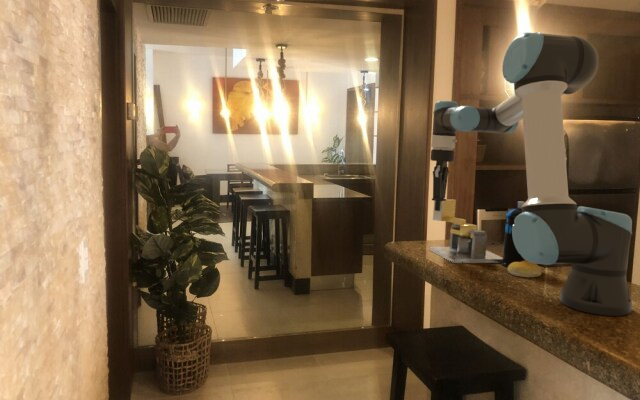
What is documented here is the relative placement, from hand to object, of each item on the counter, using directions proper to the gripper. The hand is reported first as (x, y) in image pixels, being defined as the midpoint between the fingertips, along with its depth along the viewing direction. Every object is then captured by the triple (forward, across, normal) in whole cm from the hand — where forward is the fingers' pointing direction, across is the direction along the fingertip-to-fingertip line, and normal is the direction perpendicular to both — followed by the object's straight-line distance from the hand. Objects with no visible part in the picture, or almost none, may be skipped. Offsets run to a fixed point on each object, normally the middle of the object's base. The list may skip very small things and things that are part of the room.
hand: (437, 220), depth 177 cm
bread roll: (+11, -13, -29) cm, 34 cm away
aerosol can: (+11, -4, -26) cm, 29 cm away
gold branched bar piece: (+4, +2, -8) cm, 9 cm away
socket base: (+11, +1, -10) cm, 15 cm away
